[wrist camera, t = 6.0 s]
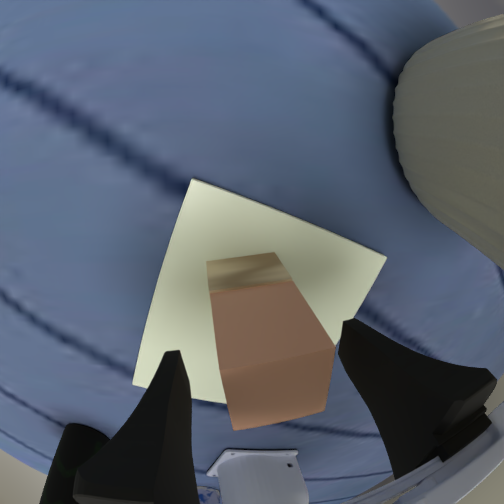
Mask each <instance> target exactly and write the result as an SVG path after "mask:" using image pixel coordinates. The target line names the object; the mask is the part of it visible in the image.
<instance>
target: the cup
mask: <svg viewBox="0 0 504 504" xmlns="http://www.w3.org/2000/svg"><path fill="white" fill-rule="evenodd" d="M109 441H110V440H109V439H108V438H107V437H106V436H104V435H103V434H101V433H100V432H98V431H96V430H94V429H91V428H89V427H86V426H82V425H78V424H69V425H67V426H66V427H65V430H64V432H63V435H62V437H61V440H60V442H59V445H58V448H57V450H56V453H55V456H54V459H53V462H52V465H51V467H50V470H49V473H48V477H47V480H46V483H45V486H44V489H43V493H42V496H41V500H40V503H39V504H79V503H78V502H76V500H75V499H74V498H73V490H74V482H75V476H76V472H77V469H78V467H80V466H81V465H82V464H84V463H85V462H86V461H88V460H89V459H90V458H91V457H93V456H94V455H95V454H96V453H97V452H99V451H100V450H101V449H102V448H103V447H104V446H105V445H106V444H107V443H108V442H109Z"/></svg>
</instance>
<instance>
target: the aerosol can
mask: <svg viewBox="0 0 504 504" xmlns="http://www.w3.org/2000/svg"><path fill="white" fill-rule="evenodd" d="M197 490H198V495H199V500H200V504H220V500H219V495H220V493H219V491H218V490H216V489H214V488H210V487H203V486H197Z"/></svg>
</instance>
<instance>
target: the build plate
mask: <svg viewBox="0 0 504 504" xmlns="http://www.w3.org/2000/svg"><path fill="white" fill-rule="evenodd" d="M271 252H275V254H276V255H277V257H278V258H279V260H280V261H281V263H282V264H283V266H284V267H285V268H286V270H287V271H288V273H289V274H290V276H291V277H292V281H293V282H294V283H295V285H296V286H297V288H298V289H299V291H300V292H301V294H302V295H303V297H304V298H305V300H306V302H307V303H308V305H309V306H310V308H311V309H312V311H313V312H314V314H315V315H316V317H317V318H318V320H319V321H320V323H321V325H322V326H323V328H324V329H325V331H326V332H327V334H328V335H329V337H330V338H331V340H332V342H333V343H334V345H336V344H337V342H338V341H339V339H340V338H341V331H342V324H343V321H345V320H349V319H353V317H354V316H355V314H356V312H357V311H358V309H359V307H360V306H361V304H362V302H363V300H364V299H365V297H366V295H367V294H368V292H369V290H370V288H371V287H372V285H373V283H374V281H375V279H376V278H377V276H378V274H379V272H380V270H381V268H382V266H383V265H384V263H385V261H386V259H387V257H386V256H384V255H383V254H381V253H378V252H376V251H374V250H372V249H370V248H367V247H365V246H363V245H361V244H358V243H356V242H354V241H352V240H349V239H347V238H345V237H342V236H340V235H338V234H336V233H333V232H331V231H329V230H326V229H324V228H321V227H319V226H317V225H314V224H312V223H309V222H307V221H305V220H302V219H300V218H297V217H295V216H292V215H290V214H287V213H285V212H282V211H280V210H277V209H275V208H272V207H270V206H267V205H265V204H262V203H260V202H257V201H254V200H252V199H249V198H246V197H244V196H241V195H238V194H236V193H233V192H230V191H228V190H225V189H222V188H220V187H217V186H214V185H211V184H208V183H206V182H203V181H200V180H197V179H194V178H192V180H191V182H190V185H189V188H188V190H187V193H186V196H185V199H184V201H183V204H182V207H181V210H180V213H179V215H178V218H177V221H176V224H175V227H174V230H173V233H172V236H171V239H170V242H169V245H168V249H167V252H166V255H165V258H164V261H163V265H162V268H161V271H160V275H159V278H158V281H157V285H156V288H155V292H154V295H153V299H152V303H151V306H150V310H149V314H148V318H147V322H146V326H145V329H144V334H143V338H142V342H141V346H140V350H139V355H138V359H137V364H136V368H135V373H134V378H133V383H132V385H136V386H140V387H144V388H148V386H149V384H150V383H151V381H152V379H153V377H154V375H155V373H156V371H157V368H158V366H159V364H160V362H161V359H162V357H163V355H164V353H165V352H166V351H173V350H180V352H181V355H182V359H183V362H184V365H185V368H186V371H187V375H188V378H189V381H190V389H191V398H195V399H201V400H207V401H213V402H220V403H227V402H226V398H225V393H224V389H223V384H222V380H221V376H220V371H219V364H218V357H217V349H216V341H215V333H214V325H213V317H212V308H211V301H210V295H209V288H208V277H207V266H206V261H212V260H219V259H227V258H234V257H242V256H249V255H256V254H263V253H271Z"/></svg>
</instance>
